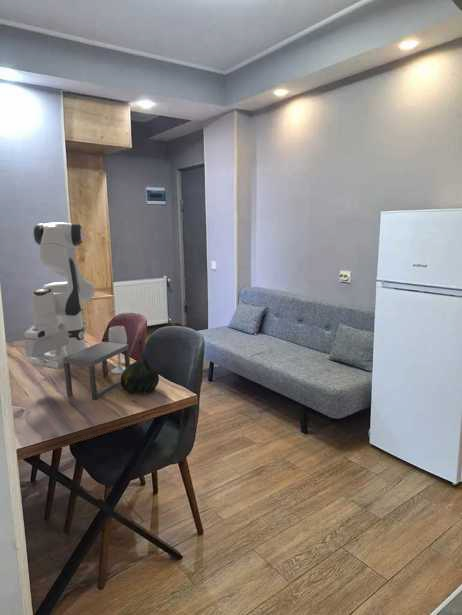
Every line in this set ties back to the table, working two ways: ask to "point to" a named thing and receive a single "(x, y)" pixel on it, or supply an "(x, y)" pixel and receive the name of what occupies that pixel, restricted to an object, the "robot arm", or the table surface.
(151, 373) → the squash
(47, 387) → the table surface
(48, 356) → the tray
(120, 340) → the wineglass
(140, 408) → the table surface
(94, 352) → the side table
